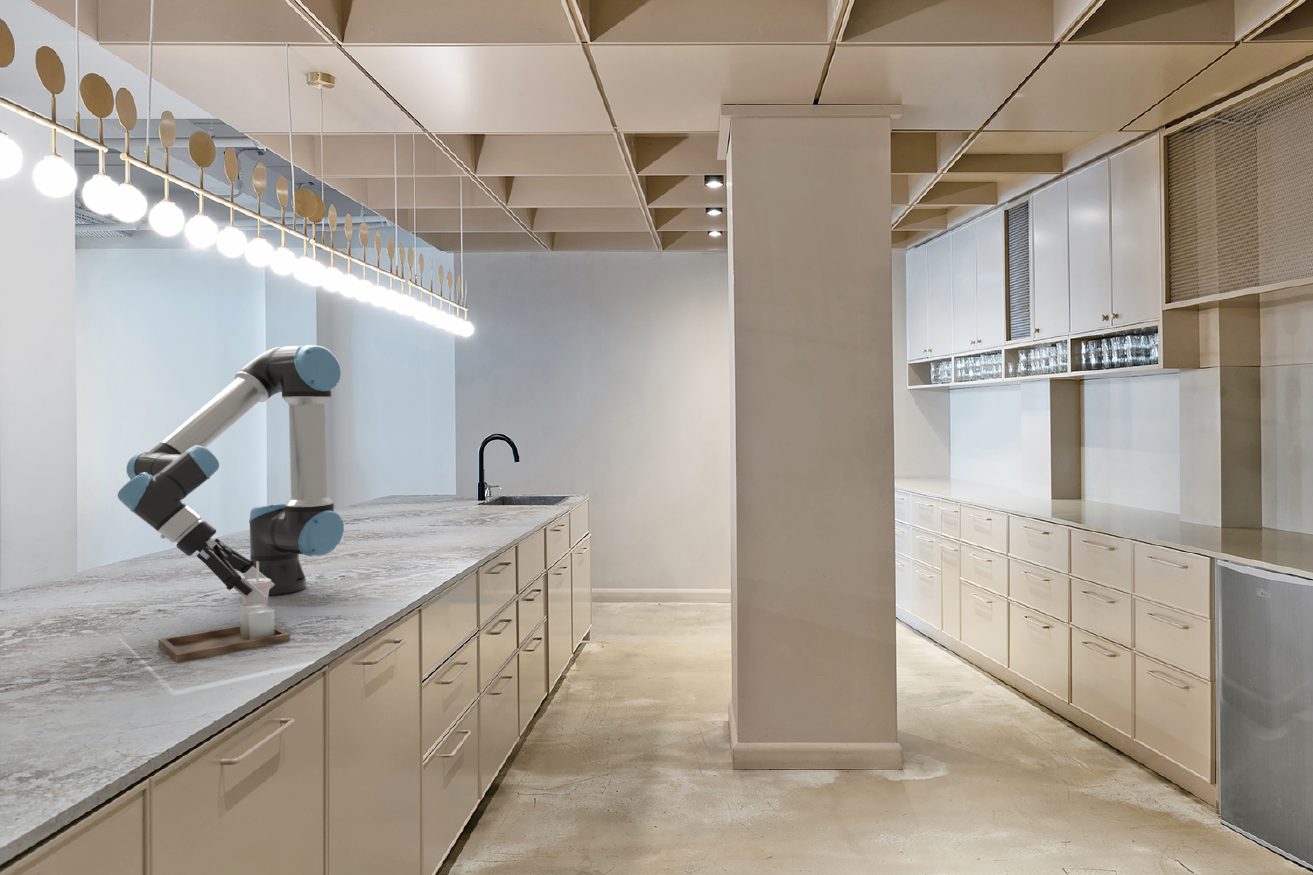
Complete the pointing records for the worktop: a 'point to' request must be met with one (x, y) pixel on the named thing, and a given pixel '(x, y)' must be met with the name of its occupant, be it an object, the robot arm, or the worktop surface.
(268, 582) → the smoothie
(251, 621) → the white domed cylinder
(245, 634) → the white rounded cylinder
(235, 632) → the tray
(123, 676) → the worktop surface
